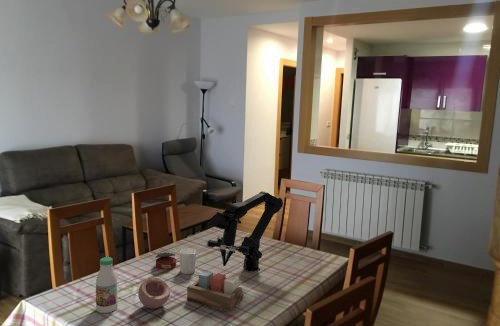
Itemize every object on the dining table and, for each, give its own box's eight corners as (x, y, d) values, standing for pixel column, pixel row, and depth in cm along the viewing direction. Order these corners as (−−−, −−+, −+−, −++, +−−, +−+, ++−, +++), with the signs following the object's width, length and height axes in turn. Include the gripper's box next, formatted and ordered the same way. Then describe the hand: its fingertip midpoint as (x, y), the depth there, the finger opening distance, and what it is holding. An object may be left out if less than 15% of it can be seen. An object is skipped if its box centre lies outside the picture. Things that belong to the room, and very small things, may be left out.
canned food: (155, 277, 195) (146, 258, 194) (167, 267, 204) (158, 250, 203) (173, 271, 190) (163, 252, 189) (184, 261, 199) (175, 243, 198)
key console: (203, 288, 174) (203, 275, 173) (242, 298, 166) (243, 284, 166) (187, 300, 163) (187, 286, 162) (229, 312, 155) (229, 297, 154)
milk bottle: (99, 303, 158) (98, 255, 155) (119, 303, 158) (119, 255, 156) (93, 314, 150) (92, 263, 147) (114, 313, 151) (114, 263, 148)
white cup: (192, 275, 187) (193, 254, 186) (176, 273, 188) (177, 253, 187) (198, 268, 195) (198, 249, 193) (182, 267, 196) (183, 247, 195)
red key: (216, 290, 169) (217, 273, 168) (225, 292, 168) (225, 275, 167) (210, 294, 165) (211, 277, 164) (219, 297, 163) (219, 279, 162)
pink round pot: (154, 317, 149) (154, 288, 147) (131, 308, 155) (131, 280, 154) (176, 305, 159) (176, 277, 157) (154, 296, 165) (154, 270, 164)
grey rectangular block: (204, 286, 172) (204, 270, 171) (212, 288, 170) (213, 272, 169) (198, 291, 167) (198, 274, 166) (206, 293, 166) (207, 276, 165)
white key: (229, 293, 167) (229, 276, 166) (238, 295, 165) (238, 278, 164) (223, 298, 163) (224, 280, 161) (232, 300, 161) (233, 282, 160)
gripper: (246, 236, 193) (240, 269, 189) (208, 229, 190) (201, 262, 186) (251, 234, 183) (245, 269, 178) (211, 227, 180) (204, 262, 175)
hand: (224, 266), depth 180 cm, fingers closed
